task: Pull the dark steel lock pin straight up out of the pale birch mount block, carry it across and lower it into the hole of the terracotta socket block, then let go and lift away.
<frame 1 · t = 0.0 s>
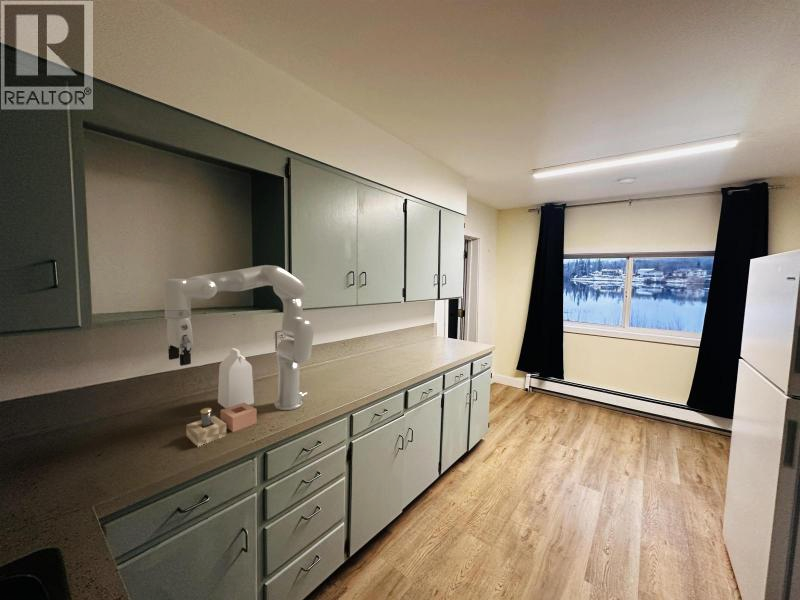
hand: (179, 361, 115), 31 cm above the worktop, tool pointing down, fingers open, 9 cm apart
mount: (206, 436, 125), on the worktop
milk: (235, 403, 155), on the worktop
dock: (238, 423, 136), on the worktop
pin: (206, 423, 124), in the mount
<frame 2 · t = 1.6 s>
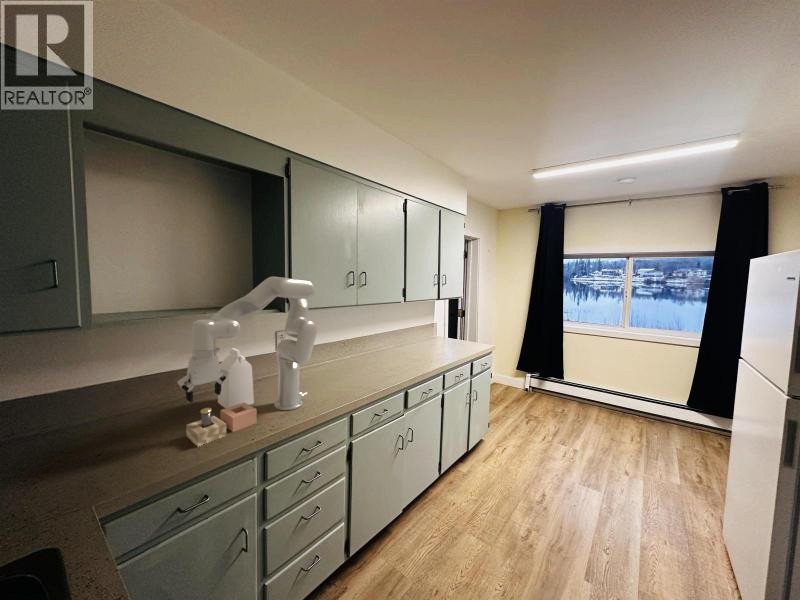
hand: (204, 397, 123), 16 cm above the worktop, tool pointing down, fingers open, 9 cm apart
nothing on the worktop moved.
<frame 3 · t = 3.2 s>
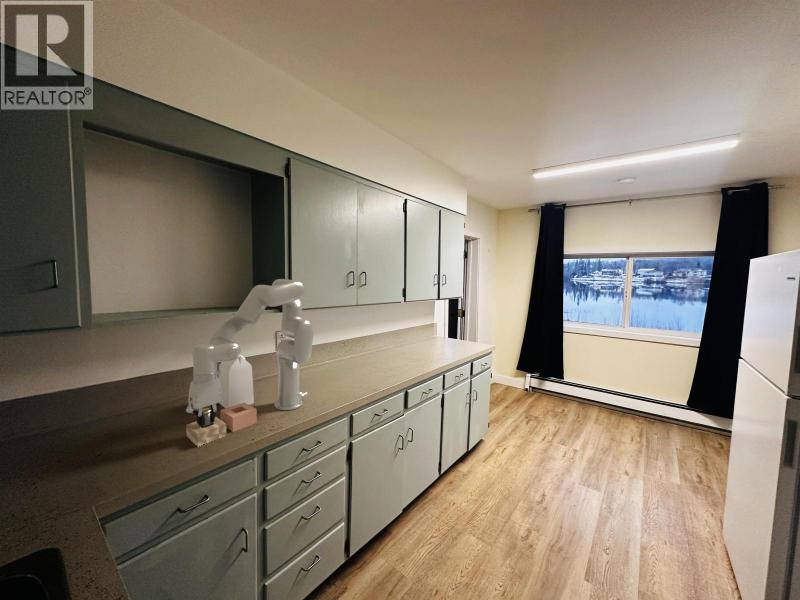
hand: (206, 422, 124), 6 cm above the worktop, tool pointing down, fingers closed on pin, 3 cm apart
pin: (206, 423, 124), in the mount, touching gripper
everything else where it was.
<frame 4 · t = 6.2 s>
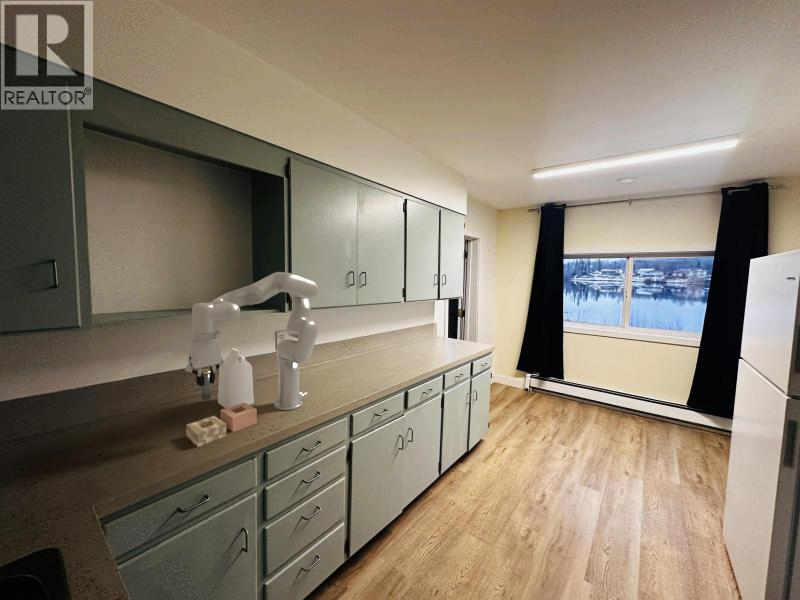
hand: (205, 383, 123), 21 cm above the worktop, tool pointing down, fingers closed on pin, 3 cm apart
pin: (206, 384, 123), point 21 cm above the worktop, touching gripper
everything else where it was.
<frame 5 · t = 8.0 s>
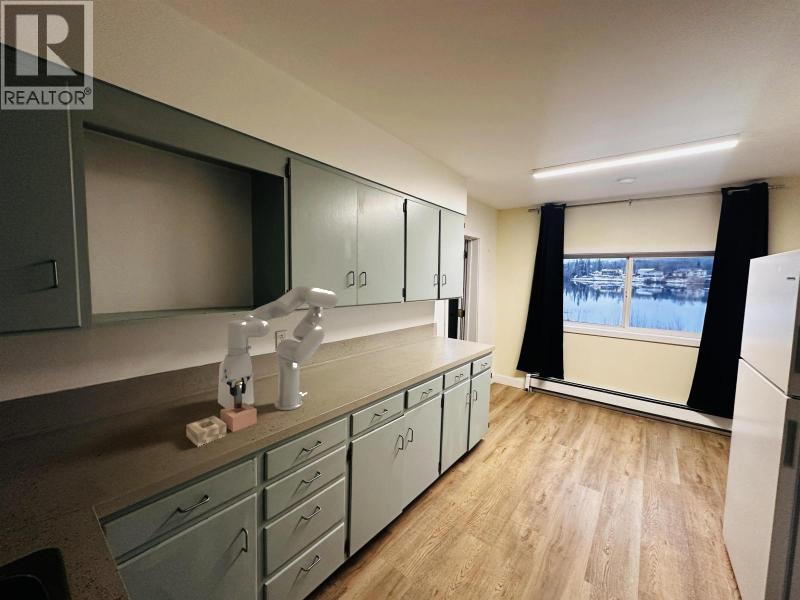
hand: (237, 393, 134), 13 cm above the worktop, tool pointing down, fingers closed on pin, 3 cm apart
pin: (237, 394, 134), point 13 cm above the worktop, touching gripper
everything else where it was.
when the fingers open (8 cm above the worktop, at t = 9.5 s): pin drops 2 cm, resting in dock.
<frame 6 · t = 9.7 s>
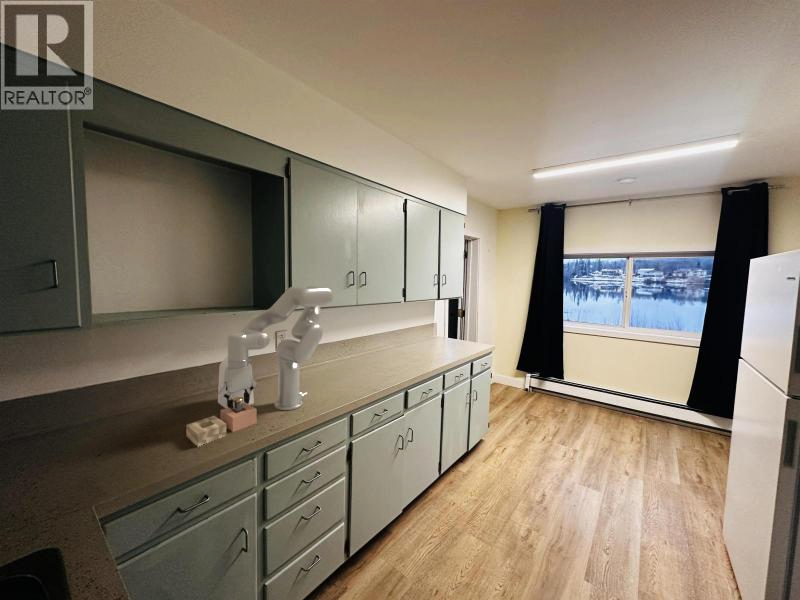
hand: (238, 404, 135), 8 cm above the worktop, tool pointing down, fingers open, 6 cm apart
pin: (238, 411, 135), in the dock
everything else where it was.
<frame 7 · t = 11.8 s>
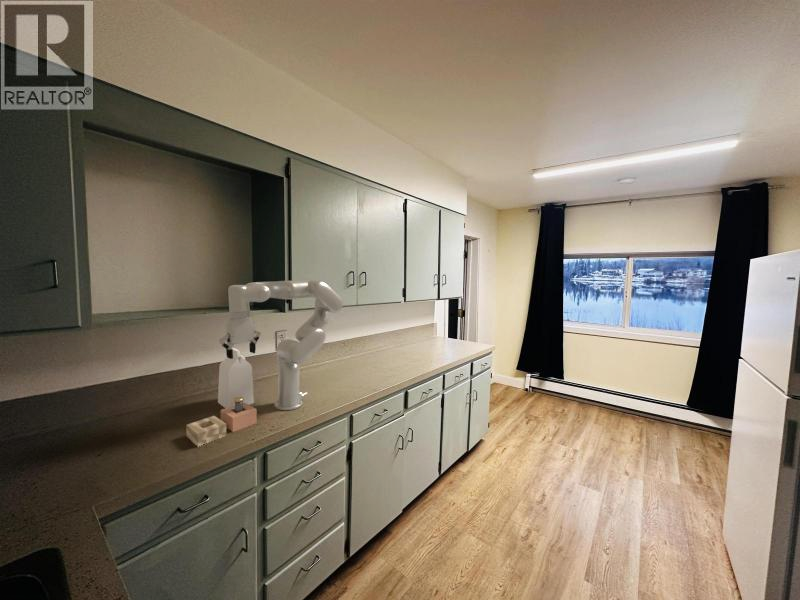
hand: (241, 355, 136), 28 cm above the worktop, tool pointing down, fingers open, 9 cm apart
nothing on the worktop moved.
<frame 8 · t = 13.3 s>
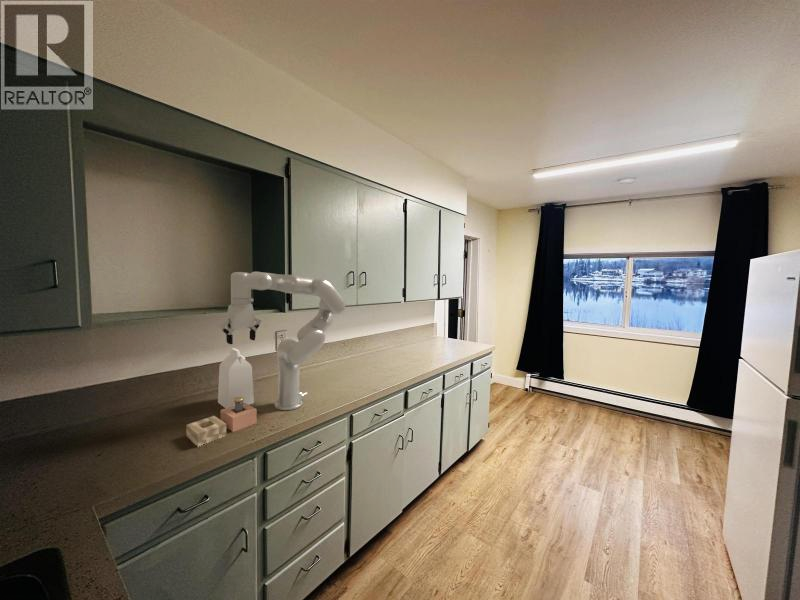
hand: (241, 341, 138), 33 cm above the worktop, tool pointing down, fingers open, 9 cm apart
nothing on the worktop moved.
at the end: pin 0.1 cm off-centre on the dock, point 5.4 cm above the dock's base; pin tilted 0°; the gripper is holding nothing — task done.
